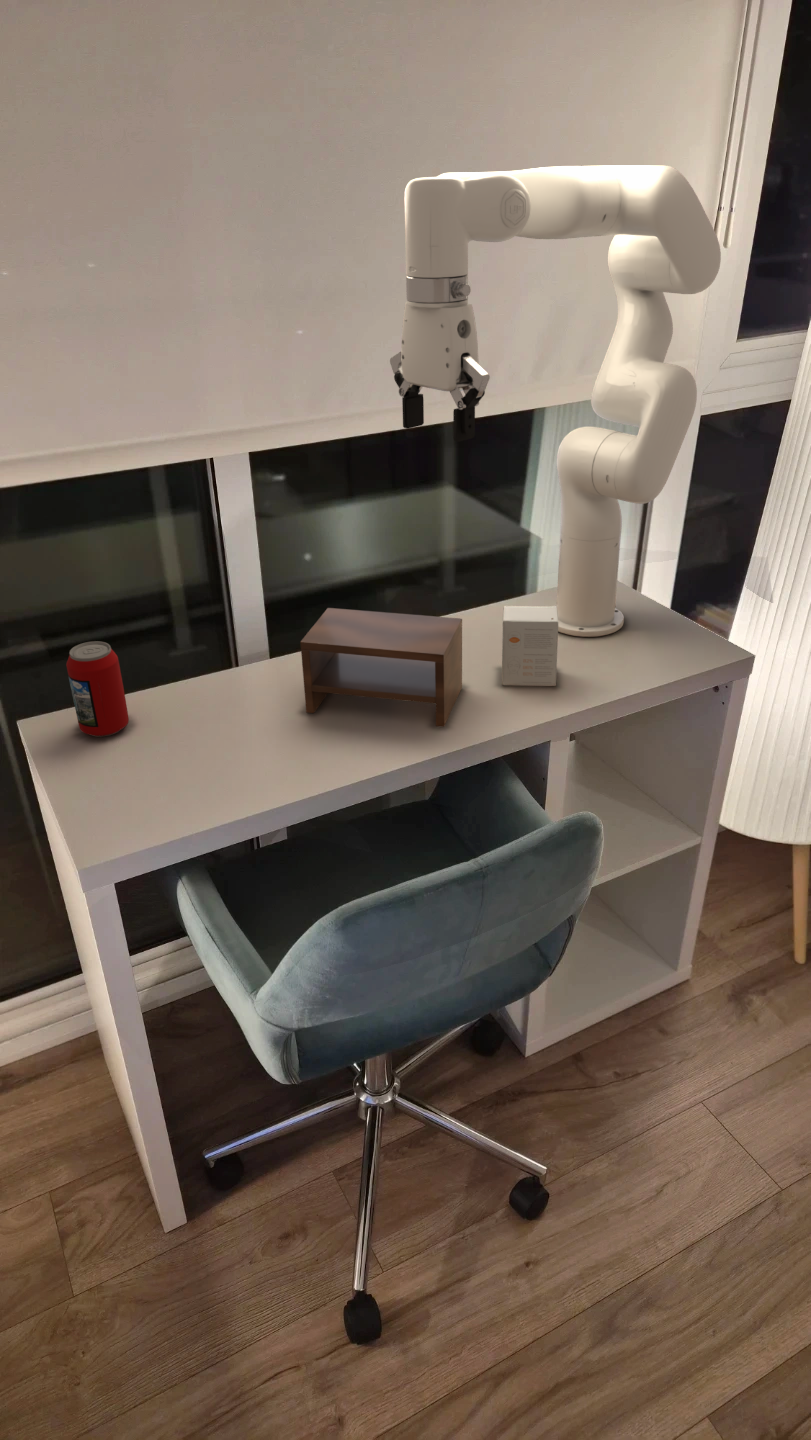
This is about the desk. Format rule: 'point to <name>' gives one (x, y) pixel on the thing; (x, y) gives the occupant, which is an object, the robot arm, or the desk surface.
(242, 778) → the desk surface
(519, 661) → the small box
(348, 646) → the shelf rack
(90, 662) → the beverage can
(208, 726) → the desk surface
